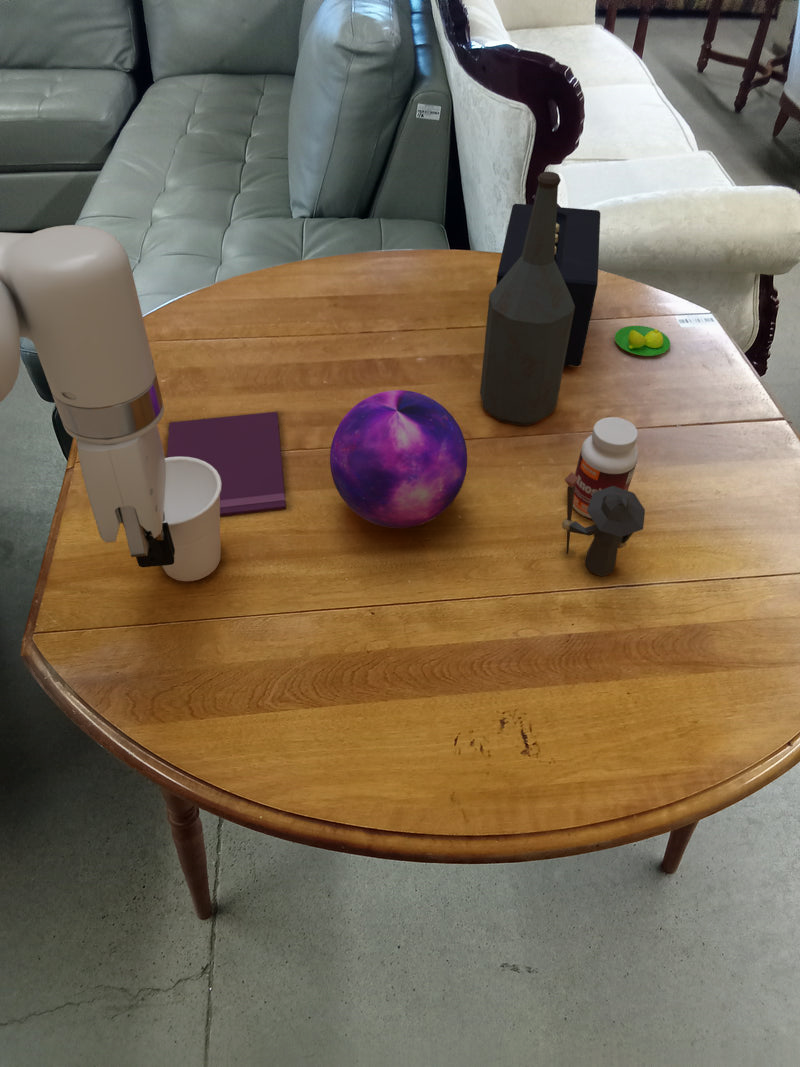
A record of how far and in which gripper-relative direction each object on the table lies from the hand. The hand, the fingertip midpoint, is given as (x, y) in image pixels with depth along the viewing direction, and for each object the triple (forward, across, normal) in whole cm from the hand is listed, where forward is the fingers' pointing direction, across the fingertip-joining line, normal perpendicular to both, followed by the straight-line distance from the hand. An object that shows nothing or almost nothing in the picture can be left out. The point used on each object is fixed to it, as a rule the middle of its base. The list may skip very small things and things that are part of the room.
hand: (157, 559), depth 70 cm
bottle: (+8, -29, +44) cm, 53 cm away
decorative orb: (+8, -12, +25) cm, 29 cm away
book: (+9, -23, +5) cm, 25 cm away
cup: (+9, -8, +2) cm, 12 cm away
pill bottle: (+8, -9, +48) cm, 50 cm away
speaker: (+7, -46, +52) cm, 70 cm away
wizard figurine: (+8, 0, +44) cm, 45 cm away
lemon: (+7, -40, +66) cm, 78 cm away
